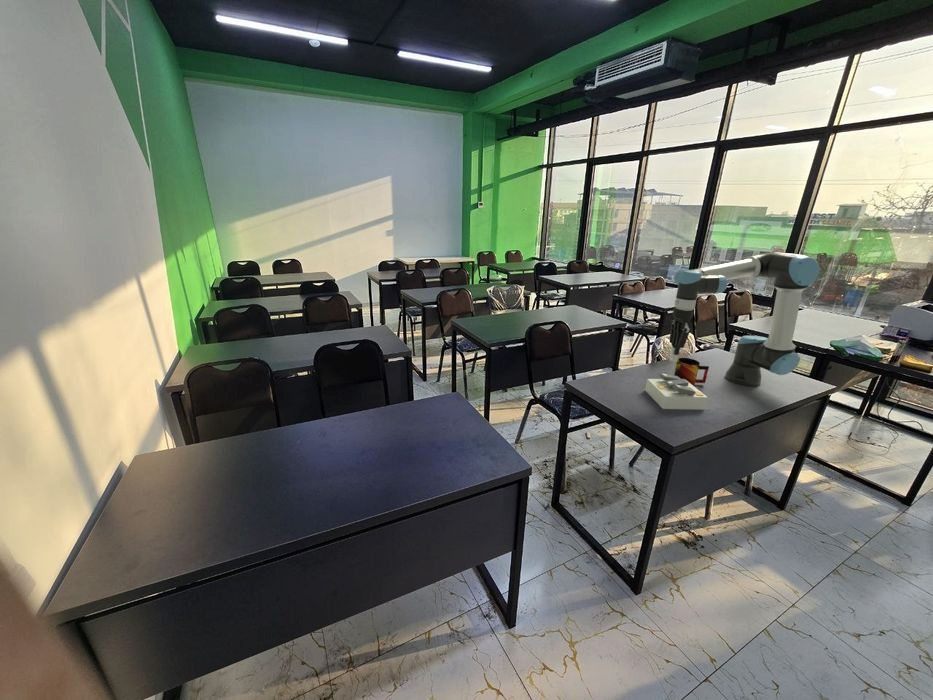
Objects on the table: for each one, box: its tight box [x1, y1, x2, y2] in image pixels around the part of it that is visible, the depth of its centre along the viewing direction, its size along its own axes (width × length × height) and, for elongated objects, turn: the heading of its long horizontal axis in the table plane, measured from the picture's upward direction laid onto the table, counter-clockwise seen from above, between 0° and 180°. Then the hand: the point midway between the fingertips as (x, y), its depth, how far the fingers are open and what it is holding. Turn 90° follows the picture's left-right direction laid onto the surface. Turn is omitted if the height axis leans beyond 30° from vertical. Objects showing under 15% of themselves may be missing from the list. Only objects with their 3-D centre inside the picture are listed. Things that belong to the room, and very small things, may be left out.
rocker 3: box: [672, 384, 696, 395], centre depth 171 cm, size 8×4×2 cm, turn 91°
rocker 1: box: [659, 372, 680, 381], centre depth 182 cm, size 8×4×2 cm, turn 91°
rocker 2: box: [666, 379, 688, 388], centre depth 176 cm, size 8×4×2 cm, turn 90°
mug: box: [673, 357, 710, 387], centre depth 194 cm, size 10×14×12 cm
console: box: [645, 378, 708, 411], centre depth 178 cm, size 18×18×7 cm
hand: (673, 360), depth 173 cm, fingers closed
